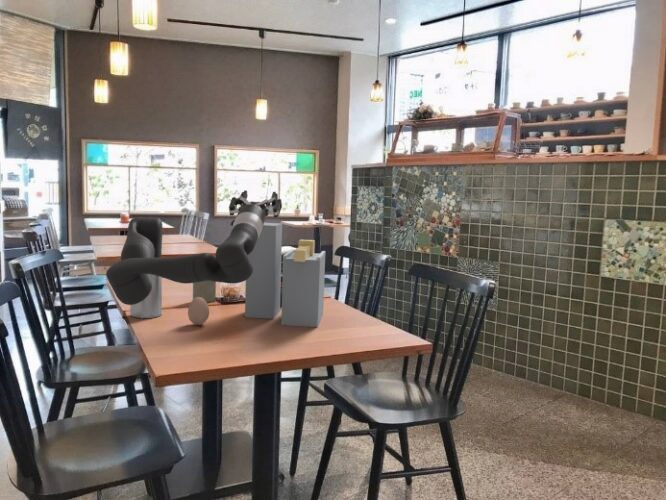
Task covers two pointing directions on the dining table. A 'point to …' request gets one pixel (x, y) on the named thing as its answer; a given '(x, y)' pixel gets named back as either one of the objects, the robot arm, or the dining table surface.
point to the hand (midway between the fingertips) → (260, 193)
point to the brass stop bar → (304, 250)
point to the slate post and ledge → (284, 282)
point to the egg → (198, 311)
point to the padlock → (205, 290)
